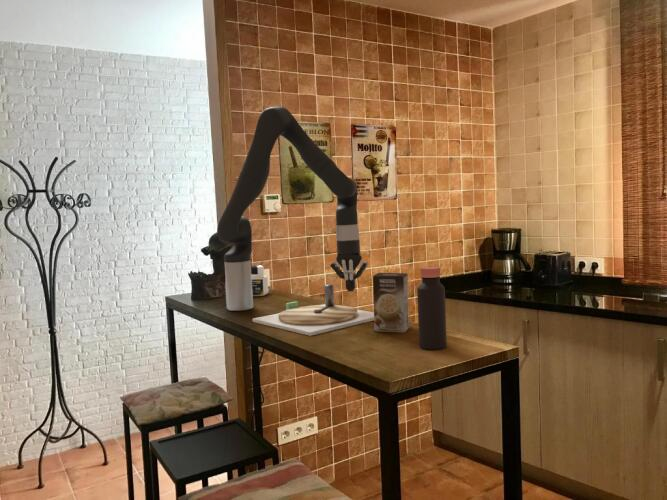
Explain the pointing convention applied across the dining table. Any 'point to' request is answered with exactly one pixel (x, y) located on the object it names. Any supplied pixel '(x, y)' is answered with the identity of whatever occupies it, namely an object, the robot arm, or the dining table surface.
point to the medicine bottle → (259, 281)
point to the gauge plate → (313, 328)
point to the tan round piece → (319, 312)
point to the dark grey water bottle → (431, 310)
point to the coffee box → (390, 302)
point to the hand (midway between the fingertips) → (350, 291)
